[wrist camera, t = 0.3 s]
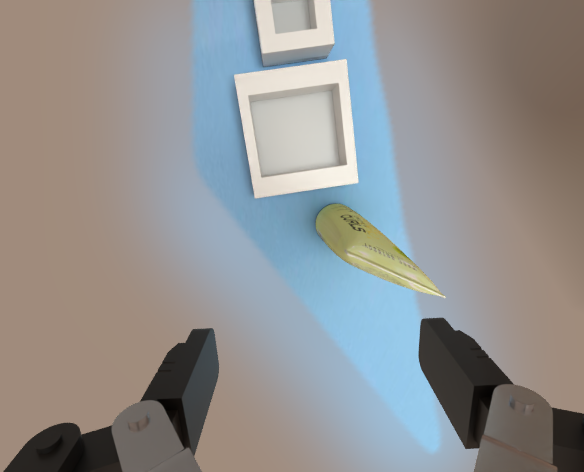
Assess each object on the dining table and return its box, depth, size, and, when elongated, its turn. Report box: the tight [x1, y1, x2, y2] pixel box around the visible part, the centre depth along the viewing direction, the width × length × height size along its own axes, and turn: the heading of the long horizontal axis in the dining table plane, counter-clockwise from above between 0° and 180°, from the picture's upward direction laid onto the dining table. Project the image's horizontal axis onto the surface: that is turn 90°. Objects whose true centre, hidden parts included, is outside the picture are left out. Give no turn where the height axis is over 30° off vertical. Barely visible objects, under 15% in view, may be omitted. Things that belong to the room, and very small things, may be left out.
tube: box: [316, 204, 446, 298], centre depth 30 cm, size 6×5×20 cm
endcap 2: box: [234, 59, 358, 198], centre depth 35 cm, size 12×11×4 cm
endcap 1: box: [253, 0, 335, 67], centre depth 33 cm, size 7×7×4 cm
